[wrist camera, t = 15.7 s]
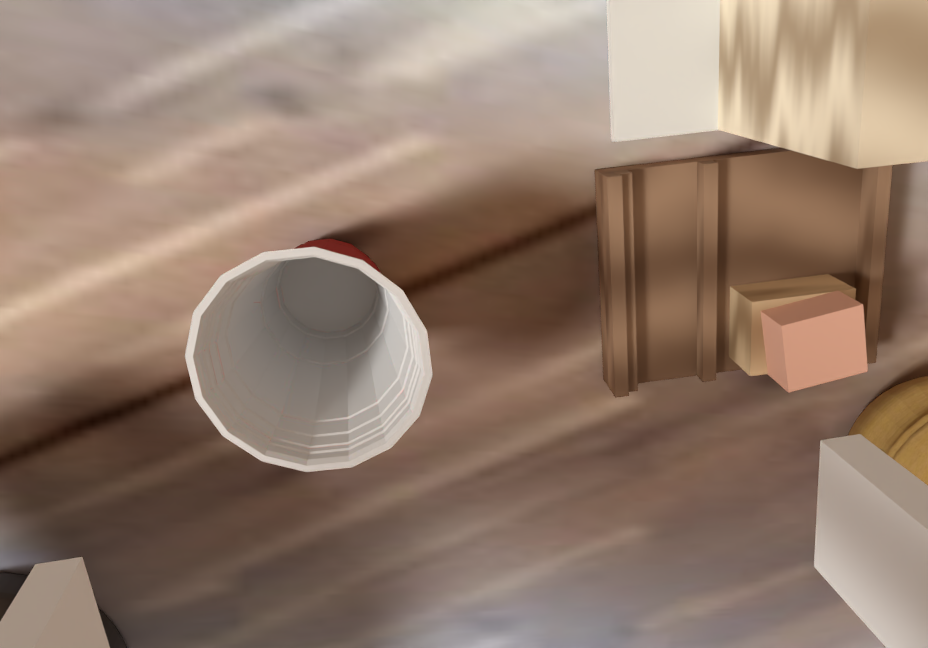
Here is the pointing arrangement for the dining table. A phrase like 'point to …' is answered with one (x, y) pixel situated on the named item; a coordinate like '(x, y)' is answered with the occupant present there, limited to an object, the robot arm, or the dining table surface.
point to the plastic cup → (309, 357)
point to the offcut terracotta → (814, 340)
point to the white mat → (662, 67)
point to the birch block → (827, 77)
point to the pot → (899, 425)
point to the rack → (725, 251)
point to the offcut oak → (766, 295)
